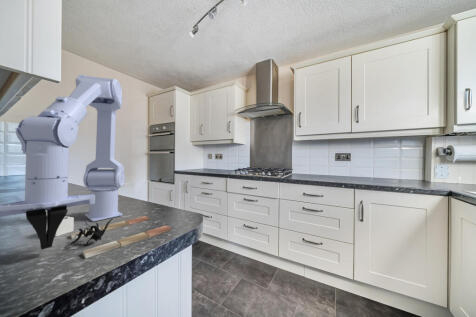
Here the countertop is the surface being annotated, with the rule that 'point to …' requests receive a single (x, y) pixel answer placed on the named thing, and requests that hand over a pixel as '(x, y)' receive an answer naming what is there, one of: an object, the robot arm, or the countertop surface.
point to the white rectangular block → (65, 226)
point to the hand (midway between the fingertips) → (46, 246)
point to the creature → (96, 234)
